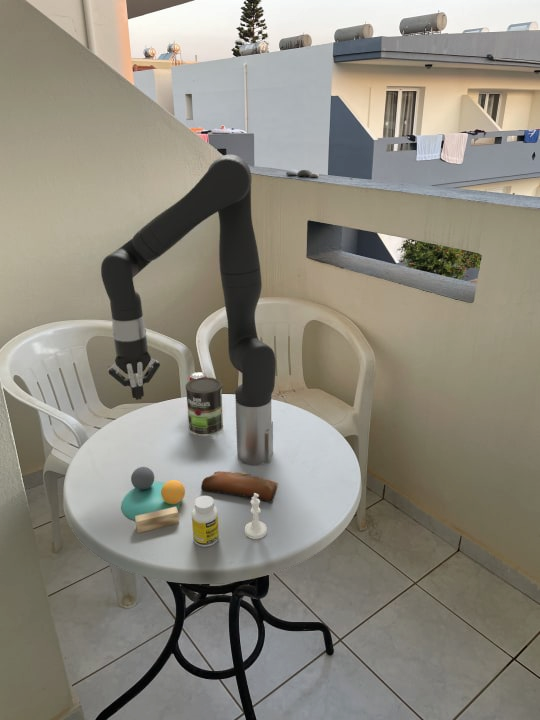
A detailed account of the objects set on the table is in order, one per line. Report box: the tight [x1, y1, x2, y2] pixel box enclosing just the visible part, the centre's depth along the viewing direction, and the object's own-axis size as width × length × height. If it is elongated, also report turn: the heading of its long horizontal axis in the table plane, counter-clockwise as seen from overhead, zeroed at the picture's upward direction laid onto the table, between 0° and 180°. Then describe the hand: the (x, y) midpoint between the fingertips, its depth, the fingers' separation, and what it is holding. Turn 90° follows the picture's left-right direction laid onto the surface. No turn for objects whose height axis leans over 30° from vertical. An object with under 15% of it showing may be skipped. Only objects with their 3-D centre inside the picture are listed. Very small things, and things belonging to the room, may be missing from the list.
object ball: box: [161, 479, 186, 504], centre depth 118 cm, size 6×6×6 cm
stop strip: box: [135, 507, 180, 534], centre depth 111 cm, size 9×2×3 cm, turn 110°
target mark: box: [121, 481, 183, 522], centre depth 119 cm, size 14×14×1 cm
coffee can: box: [185, 376, 224, 437], centre depth 147 cm, size 10×10×14 cm
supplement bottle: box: [191, 495, 220, 548], centre depth 106 cm, size 5×5×10 cm
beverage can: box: [189, 371, 207, 381], centre depth 157 cm, size 5×5×12 cm
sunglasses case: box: [200, 471, 279, 503], centre depth 123 cm, size 18×7×7 cm, turn 75°
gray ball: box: [130, 466, 155, 490], centre depth 123 cm, size 6×6×6 cm
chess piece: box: [244, 493, 268, 540], centre depth 108 cm, size 5×5×10 cm
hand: (138, 398), depth 128 cm, fingers closed
